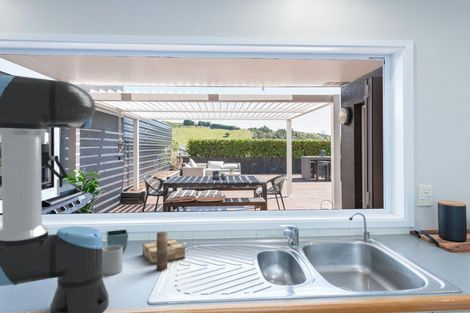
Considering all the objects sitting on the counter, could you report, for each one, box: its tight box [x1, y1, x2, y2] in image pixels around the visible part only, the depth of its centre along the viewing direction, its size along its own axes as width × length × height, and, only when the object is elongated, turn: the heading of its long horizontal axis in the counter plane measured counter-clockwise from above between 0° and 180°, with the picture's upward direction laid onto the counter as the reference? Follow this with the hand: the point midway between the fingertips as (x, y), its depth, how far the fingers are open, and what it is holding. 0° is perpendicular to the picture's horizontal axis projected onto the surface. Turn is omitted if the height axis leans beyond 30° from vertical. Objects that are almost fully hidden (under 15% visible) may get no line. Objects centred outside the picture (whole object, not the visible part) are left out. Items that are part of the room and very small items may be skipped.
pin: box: [156, 231, 168, 272], centre depth 120 cm, size 4×4×14 cm
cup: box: [102, 245, 124, 276], centre depth 118 cm, size 7×10×9 cm
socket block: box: [142, 238, 186, 266], centre depth 134 cm, size 14×14×5 cm
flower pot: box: [105, 229, 129, 253], centre depth 139 cm, size 9×9×9 cm
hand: (38, 196), depth 123 cm, fingers open, 13 cm apart
